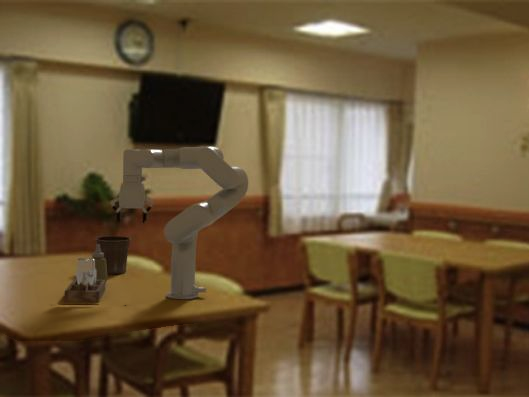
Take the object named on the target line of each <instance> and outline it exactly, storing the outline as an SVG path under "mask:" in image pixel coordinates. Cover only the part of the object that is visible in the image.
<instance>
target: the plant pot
mask: <svg viewBox="0 0 529 397" xmlns="http://www.w3.org/2000/svg"><path fill="white" fill-rule="evenodd" d="M94 240H95V242H96V245H97V244H100V249H101V253H104V257H103V258H105V259H106V267H107V276H109V275H110V276H111V275H115V274H116V275H122V274H125V273H126V272H127V264H128V255H129V248H130V243H131V240H132V238H131V237H128V236H123V235H122V236H121V235H120V236H119V235H117V236H116V235H103V236H98V237H95V239H94Z"/></svg>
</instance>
